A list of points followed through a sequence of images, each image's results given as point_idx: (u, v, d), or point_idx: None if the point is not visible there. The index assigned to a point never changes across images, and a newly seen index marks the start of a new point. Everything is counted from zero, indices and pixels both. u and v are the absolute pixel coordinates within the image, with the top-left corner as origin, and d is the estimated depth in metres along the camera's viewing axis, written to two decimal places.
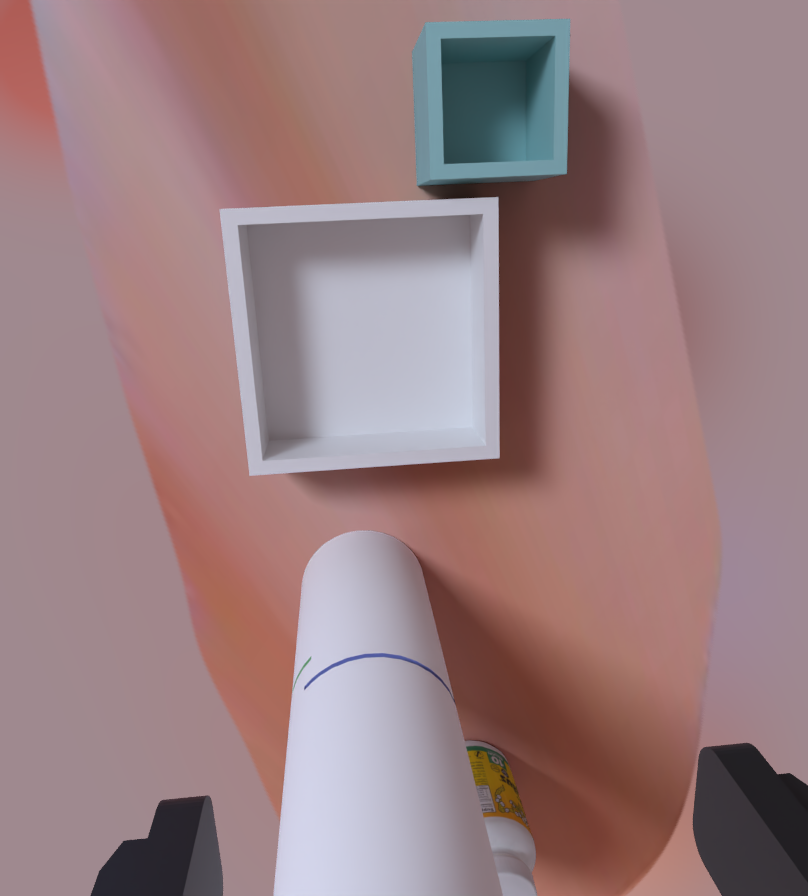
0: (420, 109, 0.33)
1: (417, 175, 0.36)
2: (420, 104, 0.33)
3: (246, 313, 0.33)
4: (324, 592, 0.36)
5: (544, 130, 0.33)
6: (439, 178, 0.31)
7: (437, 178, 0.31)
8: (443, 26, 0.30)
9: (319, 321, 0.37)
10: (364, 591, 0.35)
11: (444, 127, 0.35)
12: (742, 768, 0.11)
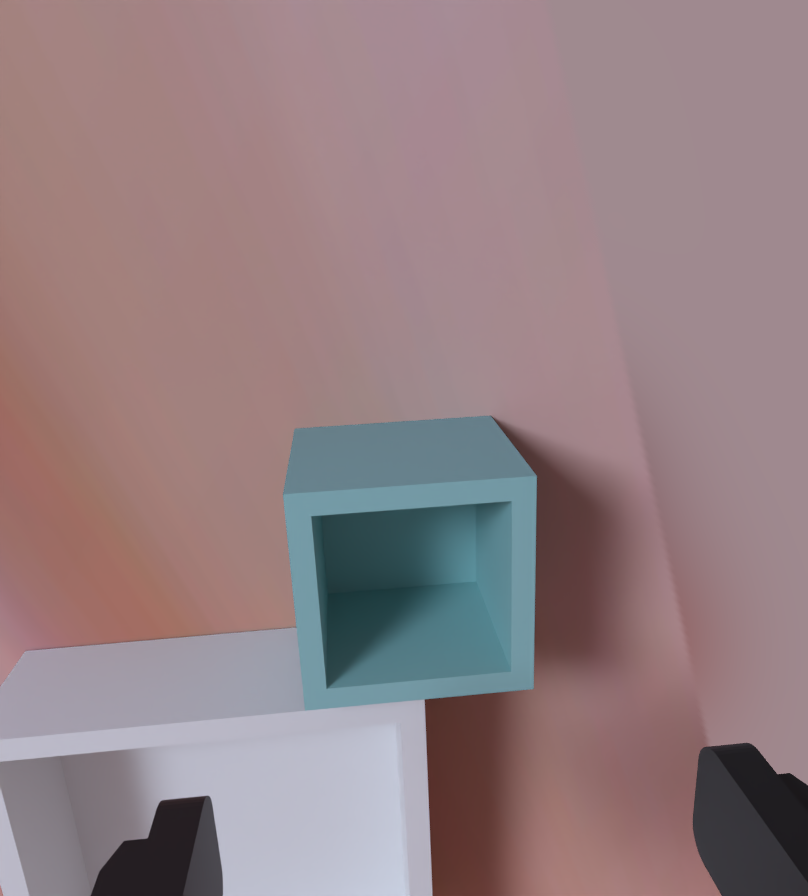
0: None
1: None
2: None
3: (23, 870, 0.21)
4: None
5: (498, 597, 0.20)
6: (320, 706, 0.19)
7: (317, 707, 0.19)
8: (315, 498, 0.17)
9: (167, 795, 0.25)
10: None
11: (348, 535, 0.23)
12: (742, 768, 0.11)
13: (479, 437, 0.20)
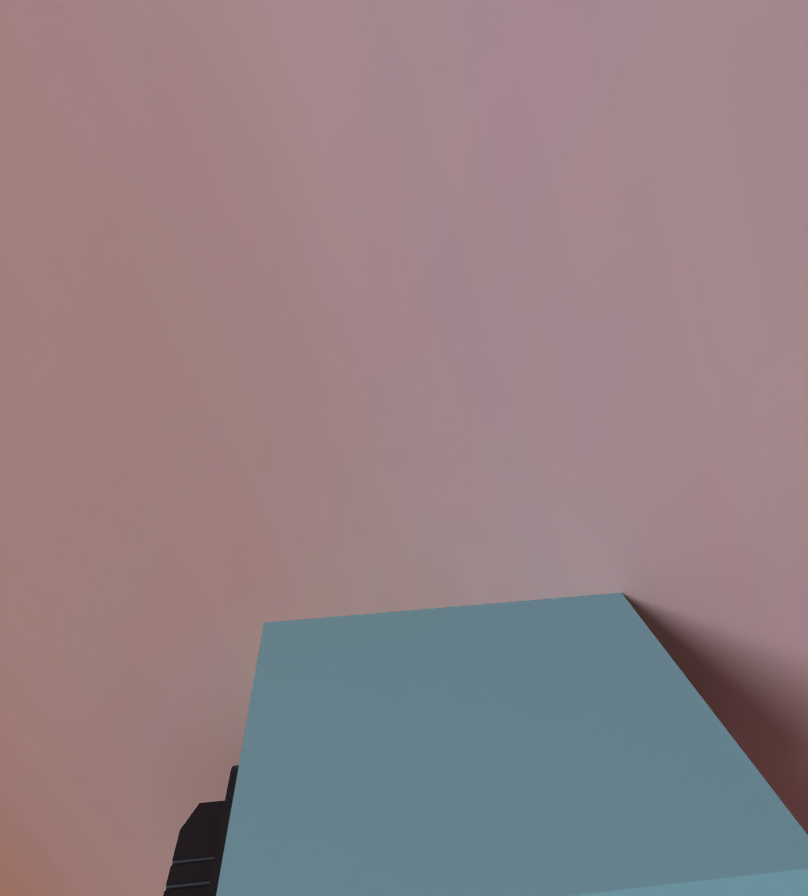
0: None
1: None
2: None
3: None
4: None
5: None
6: None
7: None
8: None
9: None
10: None
11: None
12: None
13: (627, 676, 0.10)
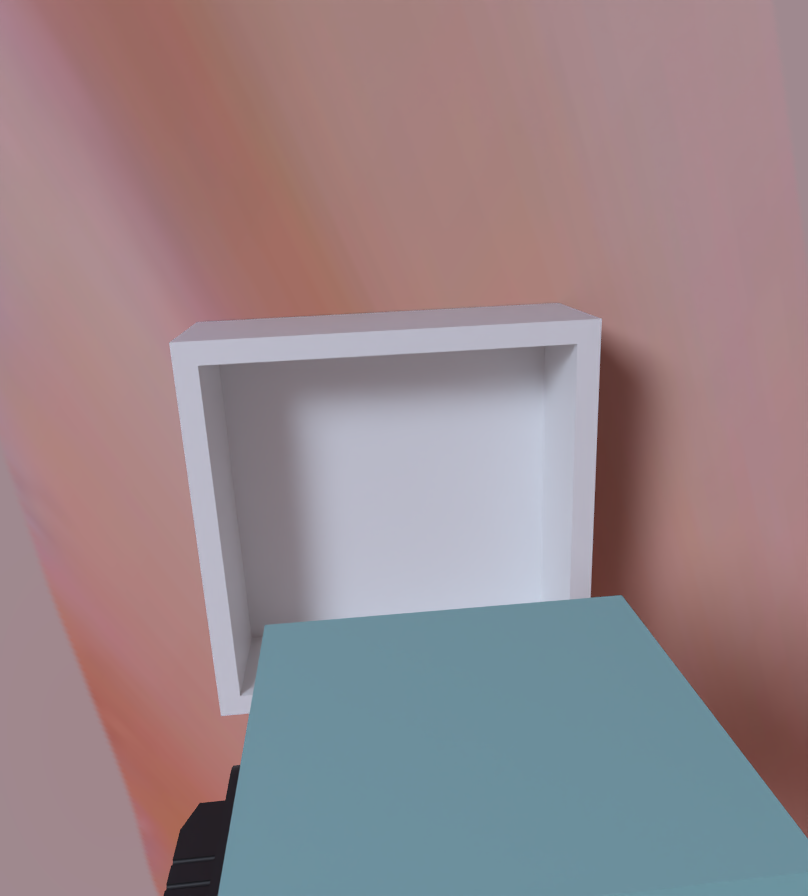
0: None
1: None
2: None
3: (213, 492, 0.22)
4: None
5: None
6: None
7: None
8: None
9: (323, 477, 0.26)
10: None
11: None
12: None
13: (627, 678, 0.10)
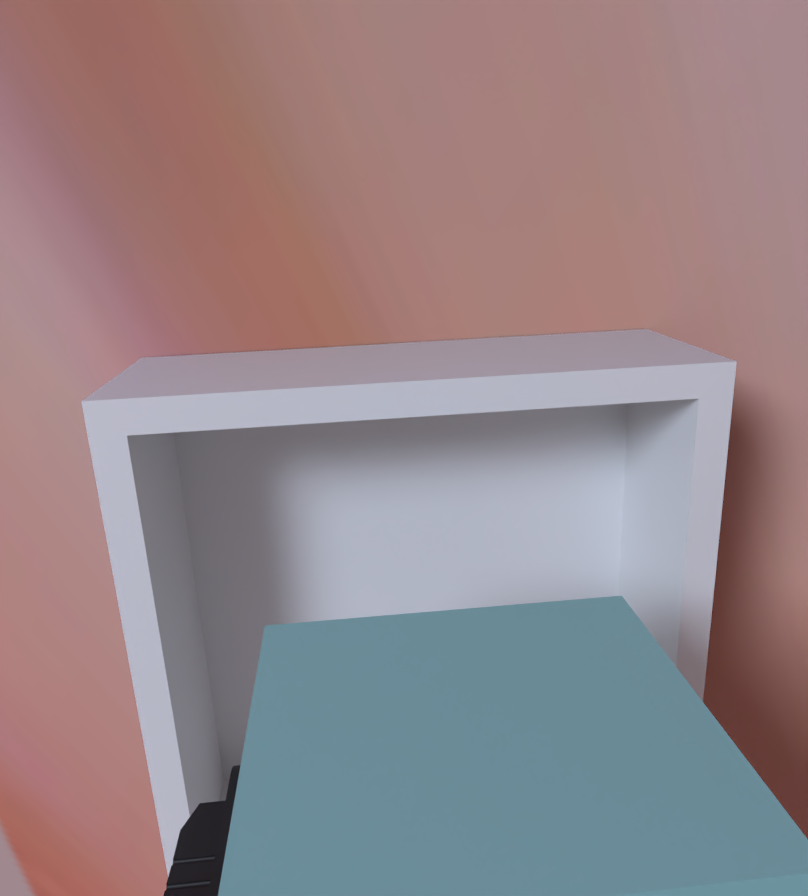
0: None
1: None
2: None
3: (156, 617, 0.15)
4: None
5: None
6: None
7: None
8: None
9: (320, 570, 0.19)
10: None
11: None
12: None
13: (627, 679, 0.10)
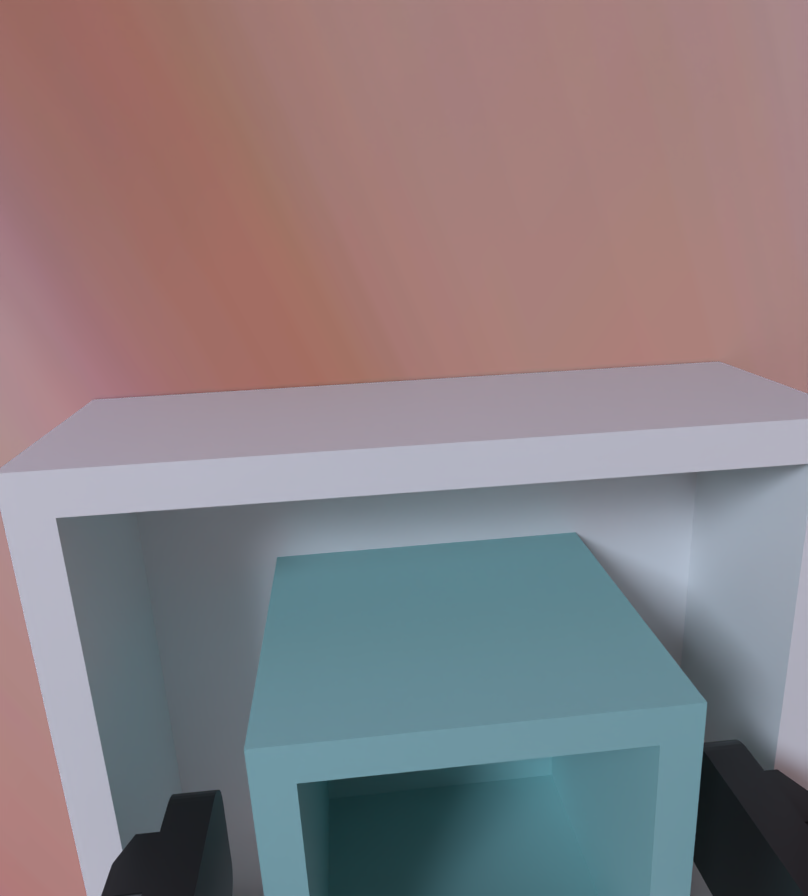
0: None
1: None
2: None
3: (101, 747, 0.11)
4: None
5: (609, 855, 0.12)
6: None
7: None
8: (303, 753, 0.09)
9: None
10: None
11: None
12: (730, 764, 0.11)
13: (572, 589, 0.13)
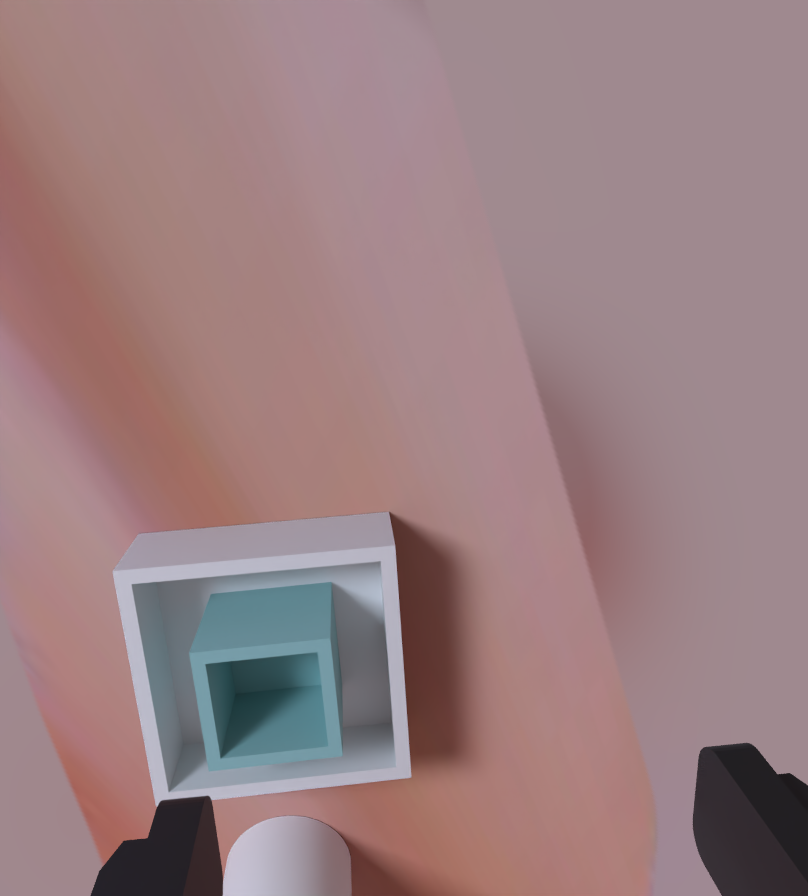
0: None
1: None
2: None
3: (145, 661, 0.33)
4: None
5: None
6: (218, 768, 0.33)
7: (215, 769, 0.33)
8: (206, 654, 0.31)
9: None
10: None
11: None
12: (742, 768, 0.11)
13: (314, 604, 0.34)
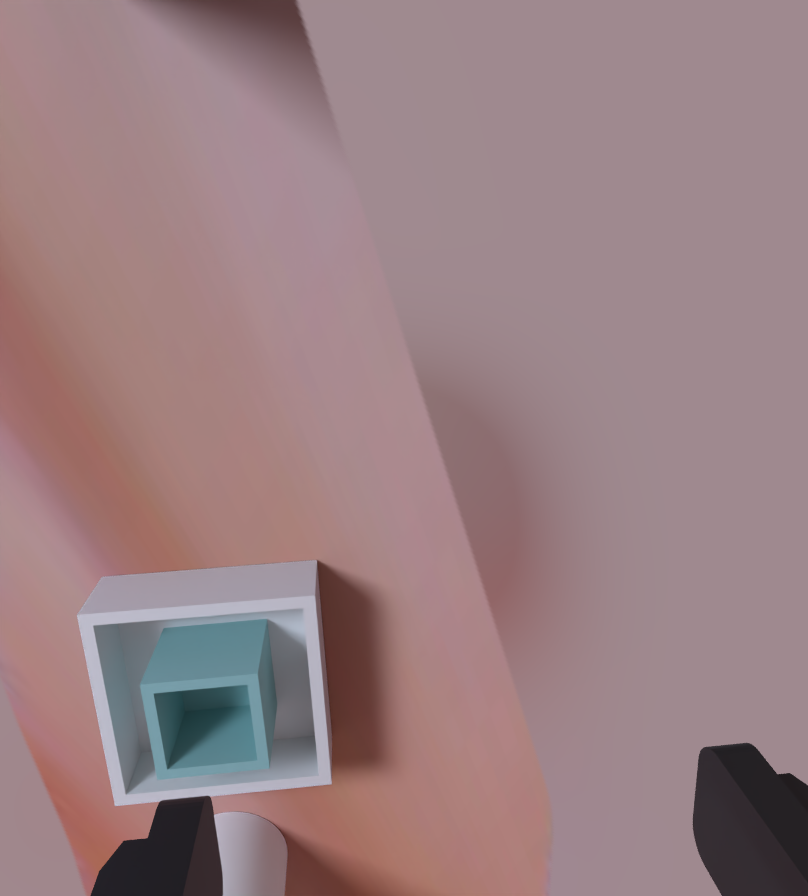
0: None
1: None
2: None
3: (105, 687, 0.40)
4: None
5: None
6: (165, 777, 0.39)
7: (163, 778, 0.39)
8: (154, 685, 0.38)
9: None
10: None
11: None
12: (742, 768, 0.11)
13: (249, 640, 0.41)
